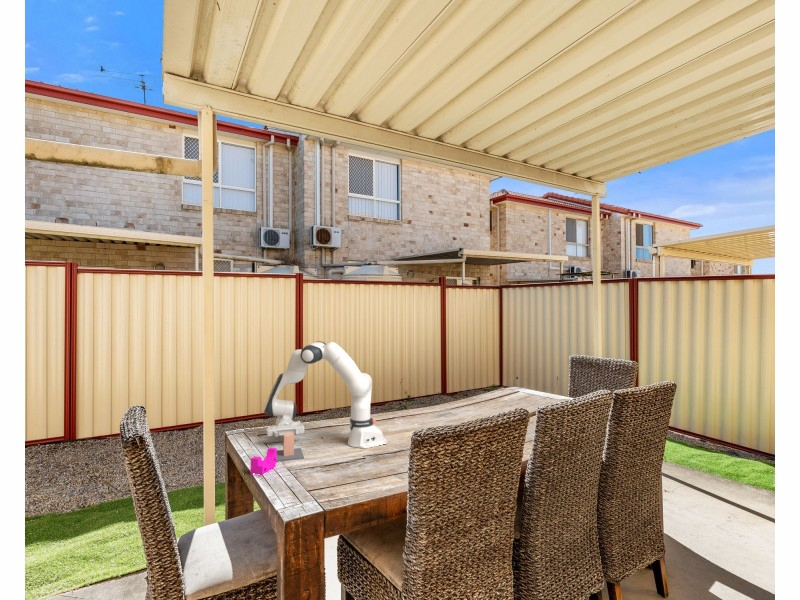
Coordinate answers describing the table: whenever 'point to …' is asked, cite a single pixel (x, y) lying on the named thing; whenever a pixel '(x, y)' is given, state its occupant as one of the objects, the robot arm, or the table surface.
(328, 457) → the table surface
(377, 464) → the table surface
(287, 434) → the pillar block
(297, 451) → the mat
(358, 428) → the robot arm
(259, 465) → the toy block
